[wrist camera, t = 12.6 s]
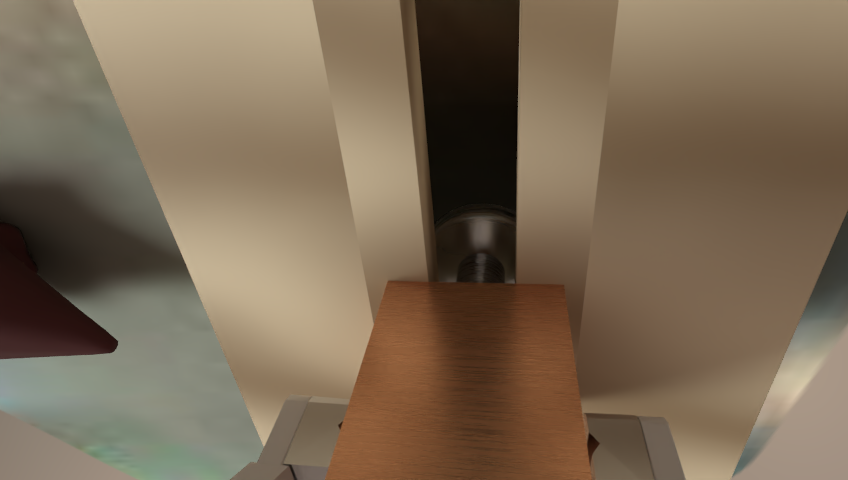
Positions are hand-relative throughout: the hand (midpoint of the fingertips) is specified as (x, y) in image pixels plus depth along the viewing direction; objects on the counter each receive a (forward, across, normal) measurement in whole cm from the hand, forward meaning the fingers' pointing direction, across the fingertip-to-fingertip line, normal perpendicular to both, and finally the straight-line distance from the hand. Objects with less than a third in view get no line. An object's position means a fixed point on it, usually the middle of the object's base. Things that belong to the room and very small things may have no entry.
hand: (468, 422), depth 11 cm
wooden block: (+6, 0, 0) cm, 6 cm away
